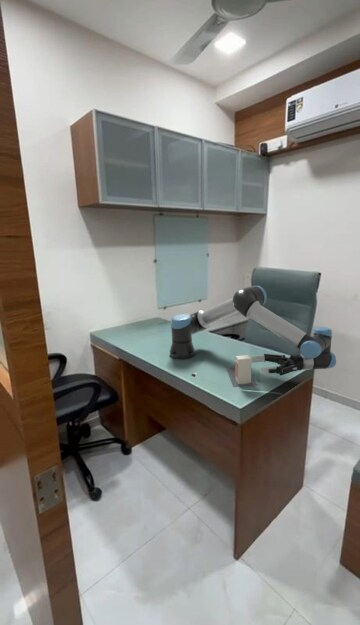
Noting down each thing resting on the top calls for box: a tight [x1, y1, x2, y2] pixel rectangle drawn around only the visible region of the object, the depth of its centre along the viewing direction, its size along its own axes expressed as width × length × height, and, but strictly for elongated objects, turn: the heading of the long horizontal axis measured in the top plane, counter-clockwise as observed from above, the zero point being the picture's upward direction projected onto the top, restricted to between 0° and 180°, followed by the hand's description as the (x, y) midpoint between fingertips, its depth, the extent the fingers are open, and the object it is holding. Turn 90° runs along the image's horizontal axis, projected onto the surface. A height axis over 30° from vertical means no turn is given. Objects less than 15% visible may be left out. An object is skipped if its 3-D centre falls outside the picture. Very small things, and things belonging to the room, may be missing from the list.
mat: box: [225, 366, 258, 388], centre depth 148 cm, size 22×11×1 cm, turn 0°
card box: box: [234, 354, 252, 384], centre depth 140 cm, size 6×4×12 cm
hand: (255, 365), depth 140 cm, fingers open, 13 cm apart
